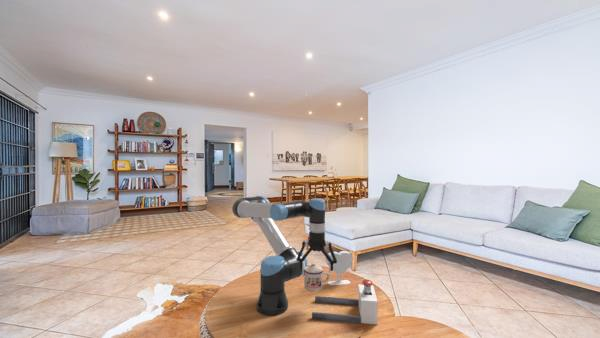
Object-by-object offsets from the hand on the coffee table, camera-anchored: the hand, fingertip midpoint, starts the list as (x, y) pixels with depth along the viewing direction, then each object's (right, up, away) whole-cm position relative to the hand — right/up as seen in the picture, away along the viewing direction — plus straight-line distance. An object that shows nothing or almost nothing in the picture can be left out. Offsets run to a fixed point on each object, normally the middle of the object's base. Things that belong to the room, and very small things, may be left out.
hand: (316, 276), depth 128 cm
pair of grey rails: (+9, -16, -1) cm, 18 cm away
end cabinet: (+23, -16, -4) cm, 29 cm away
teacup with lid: (0, -6, 0) cm, 6 cm away
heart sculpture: (+15, -16, +30) cm, 37 cm away
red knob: (+23, -8, -4) cm, 25 cm away
